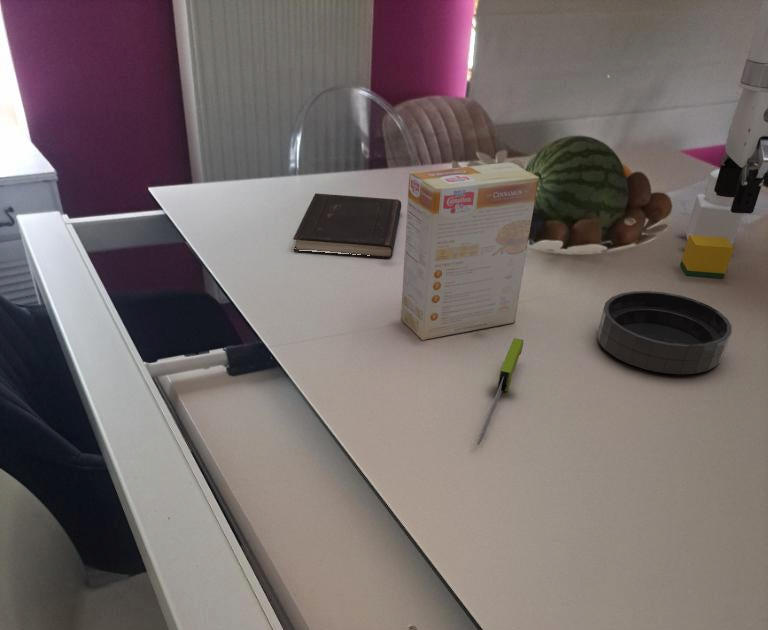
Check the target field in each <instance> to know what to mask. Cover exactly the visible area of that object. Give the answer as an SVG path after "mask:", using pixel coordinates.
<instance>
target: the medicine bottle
mask: <svg viewBox="0 0 768 630" xmlns="http://www.w3.org/2000/svg"><path fill="white" fill-rule="evenodd" d="M719 171H720V168H718V169H714V170H712V171H711V172H710V174H709V177H708V180H707V183H706V186H705V190H704V193H698V194H697V195H696V198H695V202H694V204H693V208H692V211H691V214H690V217H689V221H688V222H687V223H688V224H687V227H686V231H685V237H686V240H687V241H688V238H689V235H696V236H709V237H722V238H727V239H728V240H729V242H730V243H731V244H732V246H733V245H734V242H735V239H736V237H737V234H738V231H739V228H740V226H741V223H742V219H743V217H744V214H745V213H732V212H731V206H732V203H733V200H734V197H735V193H736V191H735V192H734V193H716V192H715V191H714V188H715V185H716V181H717V178H718V174H719ZM741 182H742V171H741V174H740V178H739V181H738V184H741ZM738 184H737V187H738ZM737 187H736V190H737ZM687 241H686V242H687ZM733 247H734V246H733Z"/></svg>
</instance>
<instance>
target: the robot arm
mask: <svg viewBox="0 0 768 630" xmlns="http://www.w3.org/2000/svg"><path fill="white" fill-rule="evenodd" d="M738 86H739V87H740V88H742V90H741V92H740V96H739V99H738V101H737V104H736V107H735V110H734V114H733V117H732V119H731V123H730V126H729V130H728V132H727V137H726V141H725V146H724V150H725V153H724V154H723V156H722V158H721V165H720V167H719V169H720V171H719V174H718V178H717V181H716V185H715V188H714V191H715V192H716V193H734V192H735V191H736V193H735V197H734V200H733V203H732V206H731V212H732V213H744V214H748V215H750V214H753V213H754V211H755V207H756V204H757V201H758V198H759V196H760V192H761V190H762V187H763V186H764V183H765V178H766V177H767V176H768V0H762V3H761V7H760V10H759V13H758V17H757V20H756V24H755V28H754V31H753V35H752V38H751V41H750V44H749V49H748V53H747V56H746V59H745V62H744V67H743V69H742V74H741V77H740V81H739V84H738ZM750 171H751V172H750ZM741 172H742V182H741V184H738V181H739V178H740V174H741ZM737 184H738V187H737ZM736 187H737V190H736Z"/></svg>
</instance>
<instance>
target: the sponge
mask: <svg viewBox="0 0 768 630" xmlns="http://www.w3.org/2000/svg"><path fill="white" fill-rule="evenodd" d="M685 244H686V245H685V248H684V252H683V254H682V258H681V261H680V264H679V266H680V268H681V269H682V271H683V273H684V275H685V276H687V277H688V276H689V277H700V278H713V279H724V278H725V275H726V272H727V269H728V267H729V264H730V261H731V258H732V255H733V252H734V250H735V247H734V246H732V244H731V243H730V242H729V240H728V239H727V238H722V237H709V236H696V235H689V238H688V241H686V243H685Z"/></svg>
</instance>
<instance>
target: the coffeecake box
mask: <svg viewBox="0 0 768 630" xmlns="http://www.w3.org/2000/svg"><path fill="white" fill-rule="evenodd" d="M408 176H409V177H408V191H407V206H406V208H407V209H406V223H405V240H404V241H405V243H404V257H403V272H402V273H403V274H402V276H403V277H402V292H401V308H400V321H402V323H403V324H404V325H406V326H407V327H408V328H409V329H411V330H412V332H414V334H415V335H416V336H417V337H418V338H419V339H420V340H421V341H424V340H430V339H434V338H439V337H445V336H450V335H451V336H452V335H455V334H462V333H466V332H467V333H468V332H472V331H476V330H477V331H478V330H482V329H488V328H493V327H498V326H503V325H509V324H514V323H515V322H516V316H517V312H518V311H517V310H518V305H519V298H520V294H521V287H522V281H523V275H524V269H525V264H526V258H527V257H526V256H527V251H528V245H529V239H530V233H531V227H532V222H533V221H532V220H533V216H534V215H533V214H534V209H535V201H536V198H537V197H536V196H537V192H538V191H537V190H538V184H539V179H540V177H539V176H538V175H536V174H534V173H532V172H530V171H527V170H526V169H524V168H522V167H521V166H520V165H518V164H516V163H513V162H511V161H509V162H499V163H490V164H480V165H471V166H462V167H451V168H442V169H432V170H421V171H411V172H409V175H408Z"/></svg>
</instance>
